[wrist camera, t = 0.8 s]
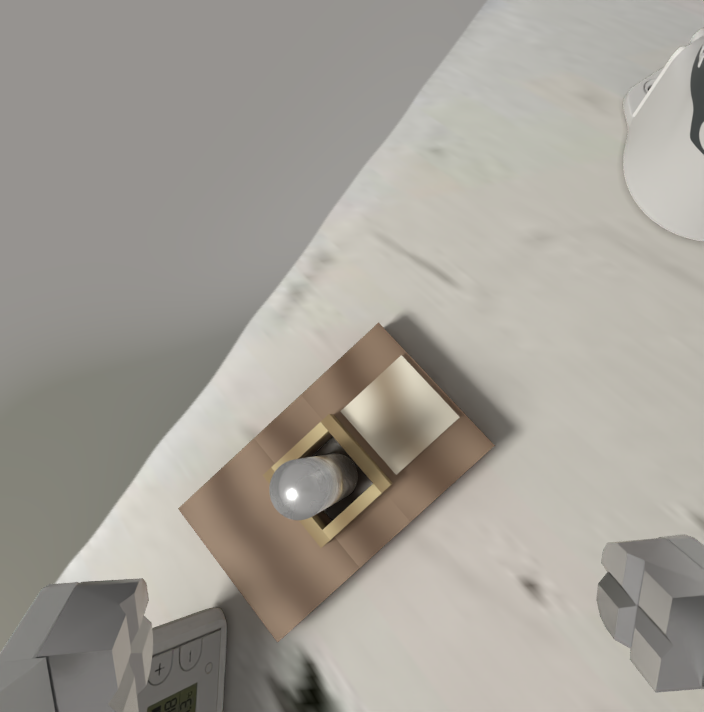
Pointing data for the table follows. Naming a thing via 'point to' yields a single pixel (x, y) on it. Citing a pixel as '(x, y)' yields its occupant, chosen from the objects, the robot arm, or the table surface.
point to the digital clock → (187, 665)
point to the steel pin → (312, 484)
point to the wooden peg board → (368, 450)
